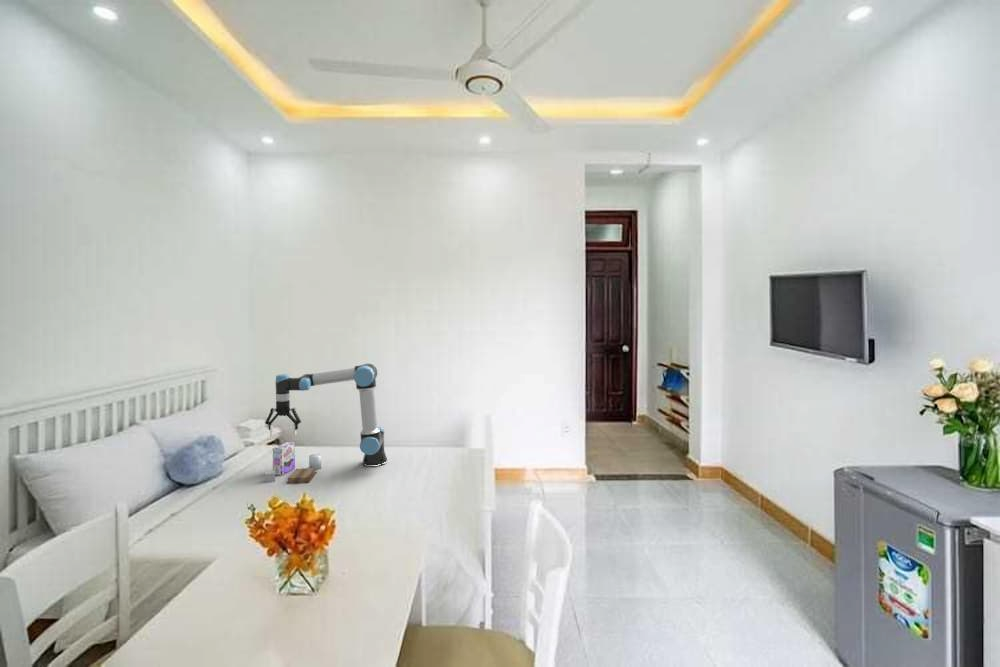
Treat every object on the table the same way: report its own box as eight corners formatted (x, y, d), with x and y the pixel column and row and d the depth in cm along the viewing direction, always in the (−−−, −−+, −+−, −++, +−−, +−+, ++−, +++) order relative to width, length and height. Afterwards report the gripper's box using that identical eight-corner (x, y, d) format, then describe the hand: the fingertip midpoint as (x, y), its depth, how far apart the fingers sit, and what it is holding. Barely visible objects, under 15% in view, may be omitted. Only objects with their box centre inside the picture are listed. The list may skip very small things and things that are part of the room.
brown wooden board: (316, 472, 306) (316, 467, 306) (308, 482, 289) (308, 477, 289) (296, 473, 305) (296, 468, 305) (286, 483, 288) (286, 478, 288)
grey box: (274, 478, 296) (274, 470, 296) (275, 481, 292) (274, 473, 291) (265, 480, 294) (265, 471, 294) (265, 482, 289) (265, 474, 289)
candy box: (281, 476, 301) (280, 448, 300) (272, 475, 302) (272, 448, 301) (295, 468, 314) (294, 442, 313) (286, 467, 315) (286, 441, 314)
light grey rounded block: (322, 466, 318) (322, 453, 318) (319, 470, 311) (319, 457, 311) (311, 466, 318) (310, 454, 317) (307, 470, 311) (307, 457, 310)
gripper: (306, 398, 310) (306, 433, 311) (263, 399, 308) (264, 433, 309) (302, 401, 302) (302, 436, 304) (258, 401, 300) (259, 437, 302)
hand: (283, 435), depth 306 cm, fingers open, 13 cm apart
